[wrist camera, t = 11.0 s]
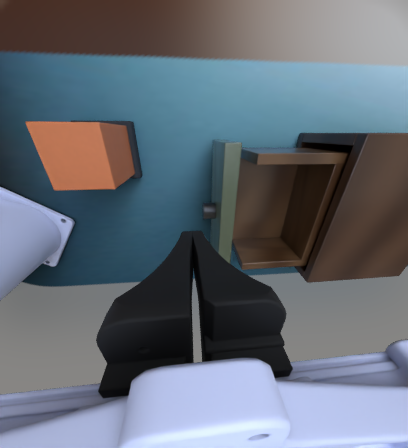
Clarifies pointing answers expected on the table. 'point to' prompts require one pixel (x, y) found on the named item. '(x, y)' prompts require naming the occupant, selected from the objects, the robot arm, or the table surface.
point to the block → (83, 154)
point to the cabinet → (362, 209)
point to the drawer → (269, 202)
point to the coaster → (132, 143)
